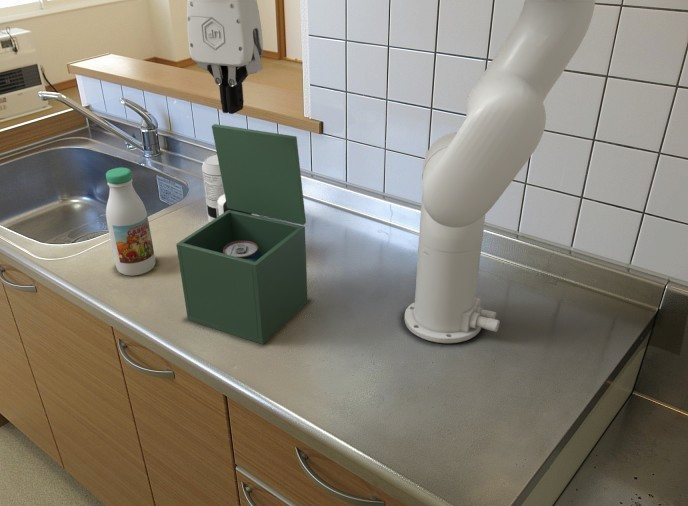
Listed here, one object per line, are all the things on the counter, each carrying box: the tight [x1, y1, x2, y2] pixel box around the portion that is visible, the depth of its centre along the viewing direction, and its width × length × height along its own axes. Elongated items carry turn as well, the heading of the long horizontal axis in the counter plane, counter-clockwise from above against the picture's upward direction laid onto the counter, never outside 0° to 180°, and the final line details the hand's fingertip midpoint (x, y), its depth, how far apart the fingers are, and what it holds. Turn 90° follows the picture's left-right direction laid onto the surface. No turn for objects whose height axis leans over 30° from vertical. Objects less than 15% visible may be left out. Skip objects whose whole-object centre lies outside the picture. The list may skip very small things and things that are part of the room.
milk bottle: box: [105, 167, 156, 276], centre depth 128 cm, size 8×8×20 cm
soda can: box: [223, 241, 262, 262], centre depth 113 cm, size 7×7×12 cm
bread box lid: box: [211, 123, 307, 226], centre depth 110 cm, size 15×16×1 cm
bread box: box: [175, 210, 309, 345], centre depth 113 cm, size 15×16×15 cm
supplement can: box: [201, 153, 225, 223], centre depth 144 cm, size 8×8×15 cm
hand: (233, 110), depth 99 cm, fingers closed
